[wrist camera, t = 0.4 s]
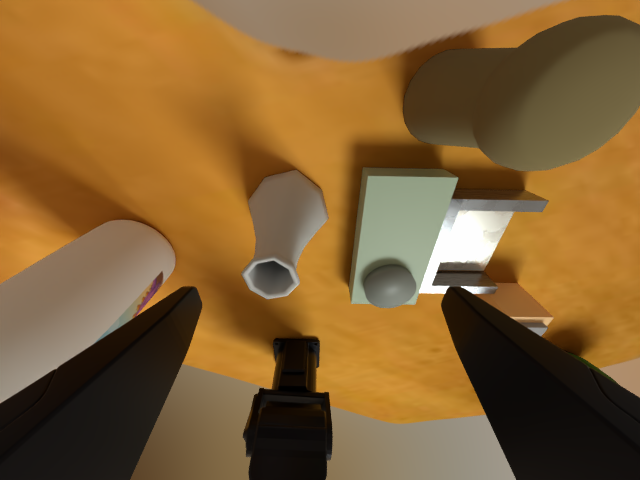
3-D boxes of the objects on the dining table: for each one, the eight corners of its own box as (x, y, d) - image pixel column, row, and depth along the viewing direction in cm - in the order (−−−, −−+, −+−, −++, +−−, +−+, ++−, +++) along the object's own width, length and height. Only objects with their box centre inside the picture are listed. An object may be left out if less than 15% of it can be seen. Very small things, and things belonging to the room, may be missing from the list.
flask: (299, 153, 19) (283, 198, 11) (341, 219, 22) (354, 293, 14) (234, 196, 21) (178, 263, 13) (281, 251, 24) (262, 333, 16)
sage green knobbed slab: (407, 288, 27) (418, 311, 24) (348, 287, 27) (352, 311, 24) (443, 168, 20) (465, 181, 17) (362, 167, 20) (370, 179, 17)
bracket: (480, 278, 26) (494, 293, 24) (411, 277, 26) (419, 292, 24) (525, 190, 21) (548, 200, 19) (437, 188, 21) (451, 199, 19)
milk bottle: (81, 224, 23) (-635, 607, 6) (152, 210, 22) (-427, 606, 5) (130, 281, 27) (-202, 606, 10) (191, 271, 26) (-52, 606, 9)
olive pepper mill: (432, 159, 19) (536, 218, 10) (386, 104, 17) (465, 114, 8) (502, 97, 17) (724, 97, 8) (459, 23, 15) (694, -99, 6)
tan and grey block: (495, 316, 30) (528, 358, 25) (461, 316, 30) (487, 357, 25) (517, 282, 27) (559, 322, 22) (479, 282, 27) (513, 322, 22)
